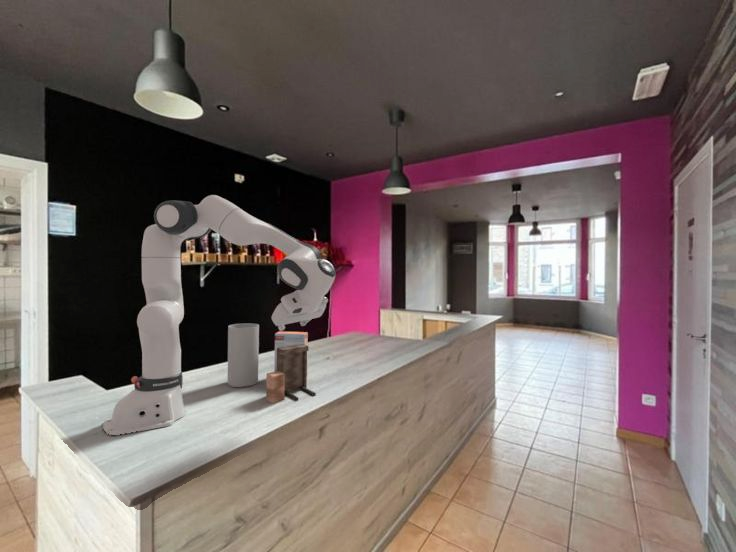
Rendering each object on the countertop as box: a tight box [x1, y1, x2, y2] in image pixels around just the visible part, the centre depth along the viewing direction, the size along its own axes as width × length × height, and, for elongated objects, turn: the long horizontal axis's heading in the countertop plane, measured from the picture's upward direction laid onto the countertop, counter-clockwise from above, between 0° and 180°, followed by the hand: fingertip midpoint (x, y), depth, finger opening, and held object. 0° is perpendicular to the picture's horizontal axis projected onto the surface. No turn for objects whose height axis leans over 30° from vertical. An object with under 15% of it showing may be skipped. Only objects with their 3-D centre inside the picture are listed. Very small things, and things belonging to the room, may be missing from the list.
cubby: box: [277, 344, 317, 401], centre depth 138 cm, size 12×13×18 cm
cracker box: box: [273, 330, 309, 372], centre depth 158 cm, size 14×6×21 cm, turn 84°
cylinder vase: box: [227, 323, 260, 388], centre depth 149 cm, size 12×12×25 cm
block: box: [265, 371, 285, 404], centre depth 131 cm, size 5×5×10 cm
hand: (291, 326), depth 124 cm, fingers open, 8 cm apart
